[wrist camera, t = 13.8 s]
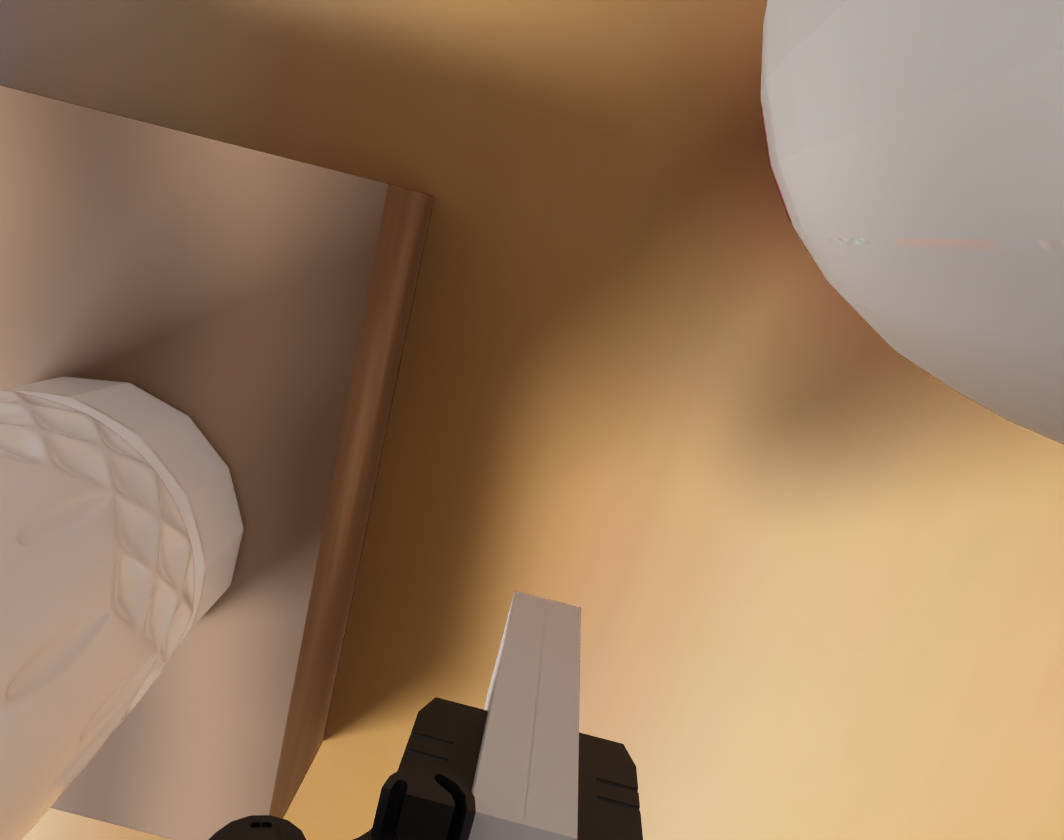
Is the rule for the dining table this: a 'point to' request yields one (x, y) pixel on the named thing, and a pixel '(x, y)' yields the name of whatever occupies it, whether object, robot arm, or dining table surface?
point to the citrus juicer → (932, 180)
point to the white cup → (96, 570)
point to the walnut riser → (218, 413)
